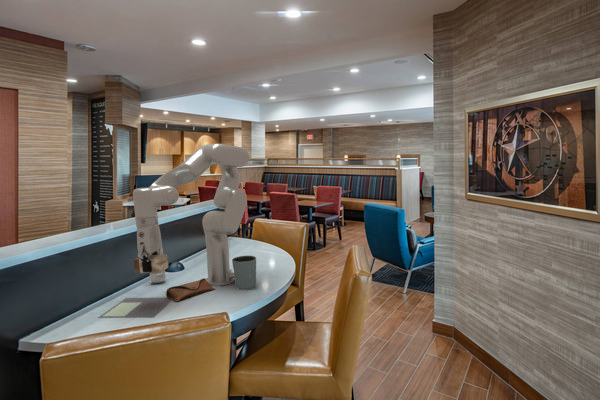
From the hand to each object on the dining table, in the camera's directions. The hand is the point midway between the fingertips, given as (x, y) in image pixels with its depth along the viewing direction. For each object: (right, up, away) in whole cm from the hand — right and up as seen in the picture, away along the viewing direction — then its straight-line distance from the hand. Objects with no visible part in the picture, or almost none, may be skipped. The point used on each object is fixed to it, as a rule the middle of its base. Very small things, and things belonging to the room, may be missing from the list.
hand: (151, 268), depth 131 cm
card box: (0, -1, 0) cm, 1 cm away
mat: (-4, -14, -2) cm, 15 cm away
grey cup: (+32, -11, +18) cm, 39 cm away
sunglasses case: (+12, -12, +10) cm, 20 cm away
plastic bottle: (-8, -12, +27) cm, 30 cm away
